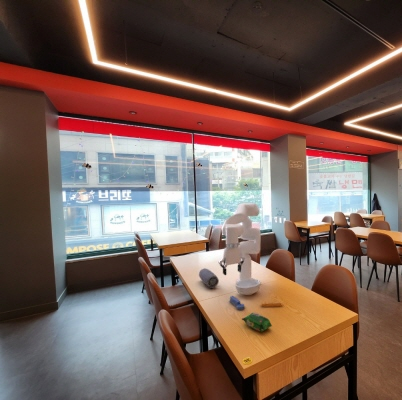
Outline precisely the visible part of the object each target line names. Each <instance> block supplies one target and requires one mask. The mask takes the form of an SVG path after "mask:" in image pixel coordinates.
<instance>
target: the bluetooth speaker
mask: <svg viewBox="0 0 402 400" xmlns="http://www.w3.org/2000/svg"><path fill="white" fill-rule="evenodd" d="M198 277H199V278H200V280H201V281H202V283H203V284H204V285H205V286H207V287H208V288H216V287H218V285H219V278H218V276H217V275H216V274H215V273H214V272H213V271H211V270H210V269H208V268H206V267H205V268H201V270H200V271H199V272H198Z"/></svg>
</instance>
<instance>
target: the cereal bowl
mask: <svg viewBox="0 0 402 400" xmlns="http://www.w3.org/2000/svg"><path fill="white" fill-rule="evenodd" d="M260 288H261V281H260V280H259V279H255V278H253V279H244V280H240V281H238V282H237V281H236V283H235V289H236V291H237V293H239V294H241V295H243V296H252V295H253V294H255V293H257V292H258V291H259V290H260Z"/></svg>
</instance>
